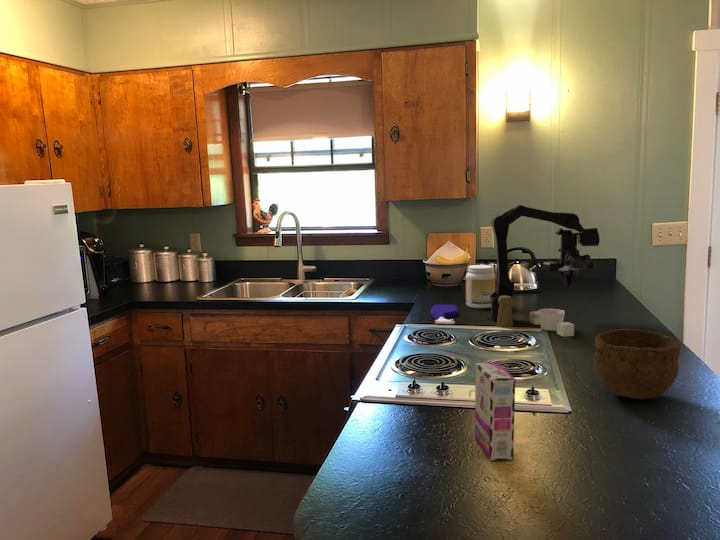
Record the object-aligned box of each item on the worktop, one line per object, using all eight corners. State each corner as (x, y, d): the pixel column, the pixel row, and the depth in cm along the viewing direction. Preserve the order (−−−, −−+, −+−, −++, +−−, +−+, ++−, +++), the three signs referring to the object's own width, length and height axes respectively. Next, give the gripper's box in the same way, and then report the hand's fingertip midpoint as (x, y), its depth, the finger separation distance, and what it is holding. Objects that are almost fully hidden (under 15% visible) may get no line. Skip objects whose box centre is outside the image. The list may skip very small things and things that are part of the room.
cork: (513, 327, 214) (514, 297, 213) (496, 327, 215) (497, 297, 214) (513, 323, 220) (513, 294, 218) (496, 323, 221) (496, 294, 220)
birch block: (530, 322, 222) (530, 311, 221) (539, 321, 223) (539, 311, 222) (535, 324, 218) (535, 314, 217) (545, 323, 219) (545, 313, 218)
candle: (554, 324, 217) (554, 307, 216) (569, 330, 208) (570, 312, 208) (532, 327, 214) (533, 309, 213) (547, 332, 206) (547, 315, 205)
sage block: (556, 333, 204) (557, 322, 204) (567, 333, 205) (567, 321, 205) (563, 336, 201) (563, 325, 200) (573, 335, 201) (574, 324, 201)
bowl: (674, 417, 132) (677, 352, 130) (585, 402, 142) (587, 342, 140) (680, 391, 148) (684, 333, 145) (600, 379, 157) (602, 325, 155)
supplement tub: (501, 306, 250) (501, 266, 248) (480, 310, 243) (480, 269, 241) (480, 301, 260) (480, 263, 258) (459, 305, 253) (459, 266, 251)
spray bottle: (431, 304, 246) (428, 318, 222) (458, 304, 244) (458, 319, 220) (431, 311, 246) (428, 326, 222) (458, 311, 244) (458, 326, 220)
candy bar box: (515, 460, 114) (516, 378, 111) (489, 462, 113) (490, 379, 111) (497, 436, 125) (497, 360, 122) (473, 437, 124) (474, 362, 122)
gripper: (558, 250, 211) (557, 293, 213) (604, 247, 215) (602, 290, 217) (541, 247, 221) (540, 288, 224) (585, 244, 226) (584, 285, 228)
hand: (567, 288), depth 223 cm, fingers closed
